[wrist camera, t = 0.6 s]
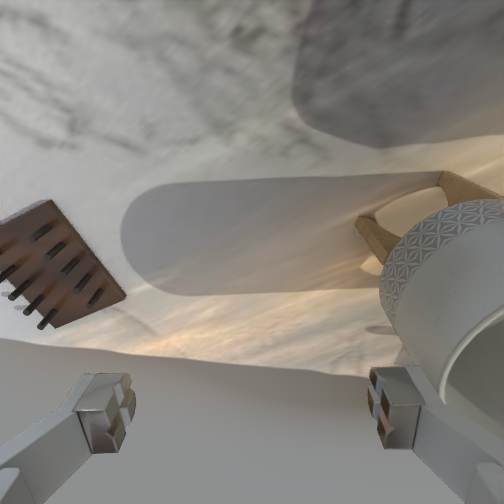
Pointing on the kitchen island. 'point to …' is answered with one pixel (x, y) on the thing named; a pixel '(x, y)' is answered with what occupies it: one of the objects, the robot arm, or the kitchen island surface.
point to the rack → (54, 267)
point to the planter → (451, 296)
